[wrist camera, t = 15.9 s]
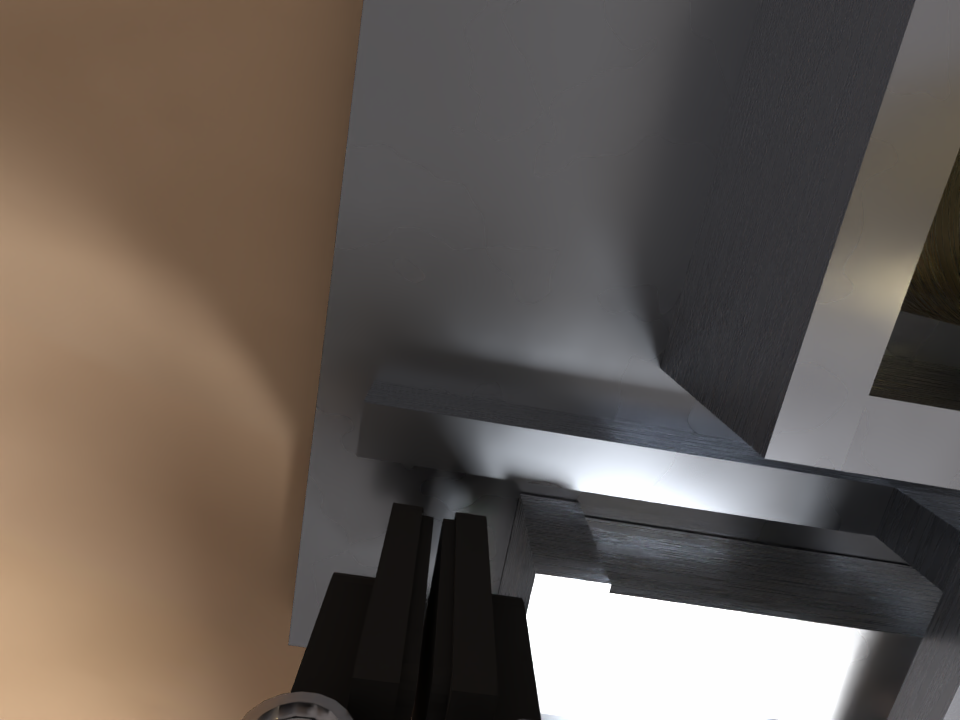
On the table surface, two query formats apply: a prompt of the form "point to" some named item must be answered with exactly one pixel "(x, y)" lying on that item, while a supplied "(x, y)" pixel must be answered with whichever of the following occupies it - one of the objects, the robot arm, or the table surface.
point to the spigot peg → (939, 261)
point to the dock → (646, 288)
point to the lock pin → (709, 619)
